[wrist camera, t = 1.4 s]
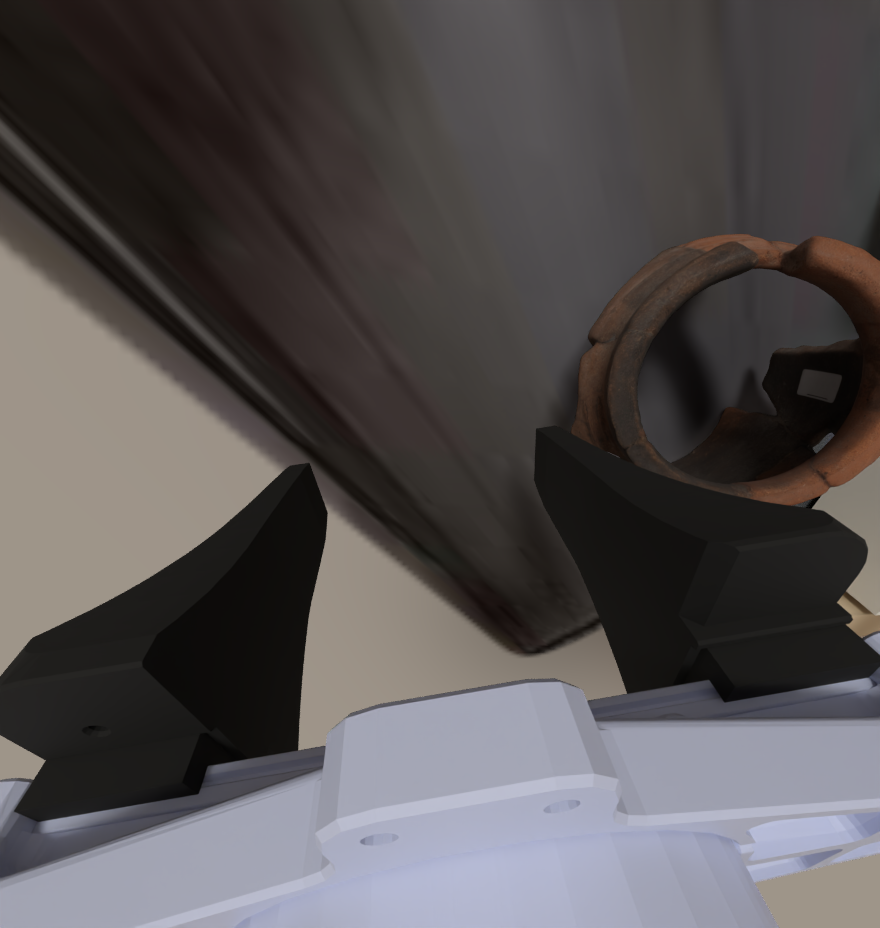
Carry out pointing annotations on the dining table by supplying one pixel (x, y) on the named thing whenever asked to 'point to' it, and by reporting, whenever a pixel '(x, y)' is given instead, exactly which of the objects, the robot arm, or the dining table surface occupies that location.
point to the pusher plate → (860, 527)
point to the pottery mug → (787, 382)
